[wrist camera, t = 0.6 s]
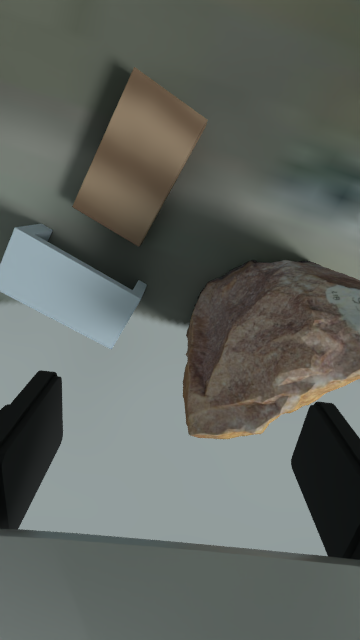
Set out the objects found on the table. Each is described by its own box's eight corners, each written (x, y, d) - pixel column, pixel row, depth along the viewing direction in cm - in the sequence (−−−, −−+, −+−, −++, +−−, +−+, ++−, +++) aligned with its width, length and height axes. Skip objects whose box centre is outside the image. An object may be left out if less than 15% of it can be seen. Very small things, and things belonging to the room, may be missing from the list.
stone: (298, 227, 35) (434, 255, 16) (330, 302, 38) (474, 398, 20) (162, 303, 38) (144, 399, 20) (202, 366, 42) (220, 500, 23)
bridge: (41, 223, 35) (14, 227, 29) (147, 284, 37) (141, 299, 32) (20, 274, 37) (-9, 287, 31) (121, 328, 40) (111, 349, 34)
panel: (138, 79, 30) (134, 66, 27) (205, 127, 32) (207, 120, 29) (80, 206, 35) (72, 206, 32) (141, 243, 36) (138, 246, 33)
